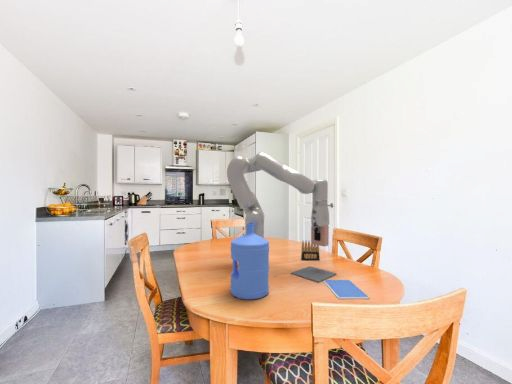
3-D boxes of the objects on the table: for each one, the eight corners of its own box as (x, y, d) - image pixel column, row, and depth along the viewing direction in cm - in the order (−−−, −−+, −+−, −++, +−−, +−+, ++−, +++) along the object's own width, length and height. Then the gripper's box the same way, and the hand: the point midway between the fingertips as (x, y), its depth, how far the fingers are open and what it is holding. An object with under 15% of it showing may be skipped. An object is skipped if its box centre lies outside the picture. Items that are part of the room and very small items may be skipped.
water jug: (271, 286, 107) (272, 221, 107) (264, 302, 92) (265, 227, 92) (237, 283, 111) (237, 220, 110) (224, 298, 95) (225, 225, 95)
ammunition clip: (318, 259, 150) (318, 239, 149) (319, 260, 148) (319, 240, 148) (301, 259, 150) (301, 239, 149) (301, 260, 148) (301, 240, 148)
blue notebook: (322, 282, 114) (322, 279, 114) (349, 282, 115) (349, 279, 115) (338, 301, 95) (338, 297, 95) (370, 300, 95) (370, 297, 95)
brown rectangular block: (324, 246, 122) (324, 226, 122) (311, 243, 128) (311, 224, 128) (328, 245, 125) (328, 225, 125) (314, 242, 131) (315, 224, 131)
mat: (318, 282, 112) (318, 281, 112) (290, 273, 124) (290, 272, 124) (336, 274, 123) (336, 273, 123) (309, 267, 135) (309, 266, 135)
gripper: (317, 204, 118) (316, 243, 118) (335, 203, 129) (334, 238, 129) (304, 204, 124) (303, 240, 124) (322, 203, 135) (322, 236, 135)
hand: (319, 239), depth 127 cm, fingers closed on brown rectangular block, 3 cm apart
